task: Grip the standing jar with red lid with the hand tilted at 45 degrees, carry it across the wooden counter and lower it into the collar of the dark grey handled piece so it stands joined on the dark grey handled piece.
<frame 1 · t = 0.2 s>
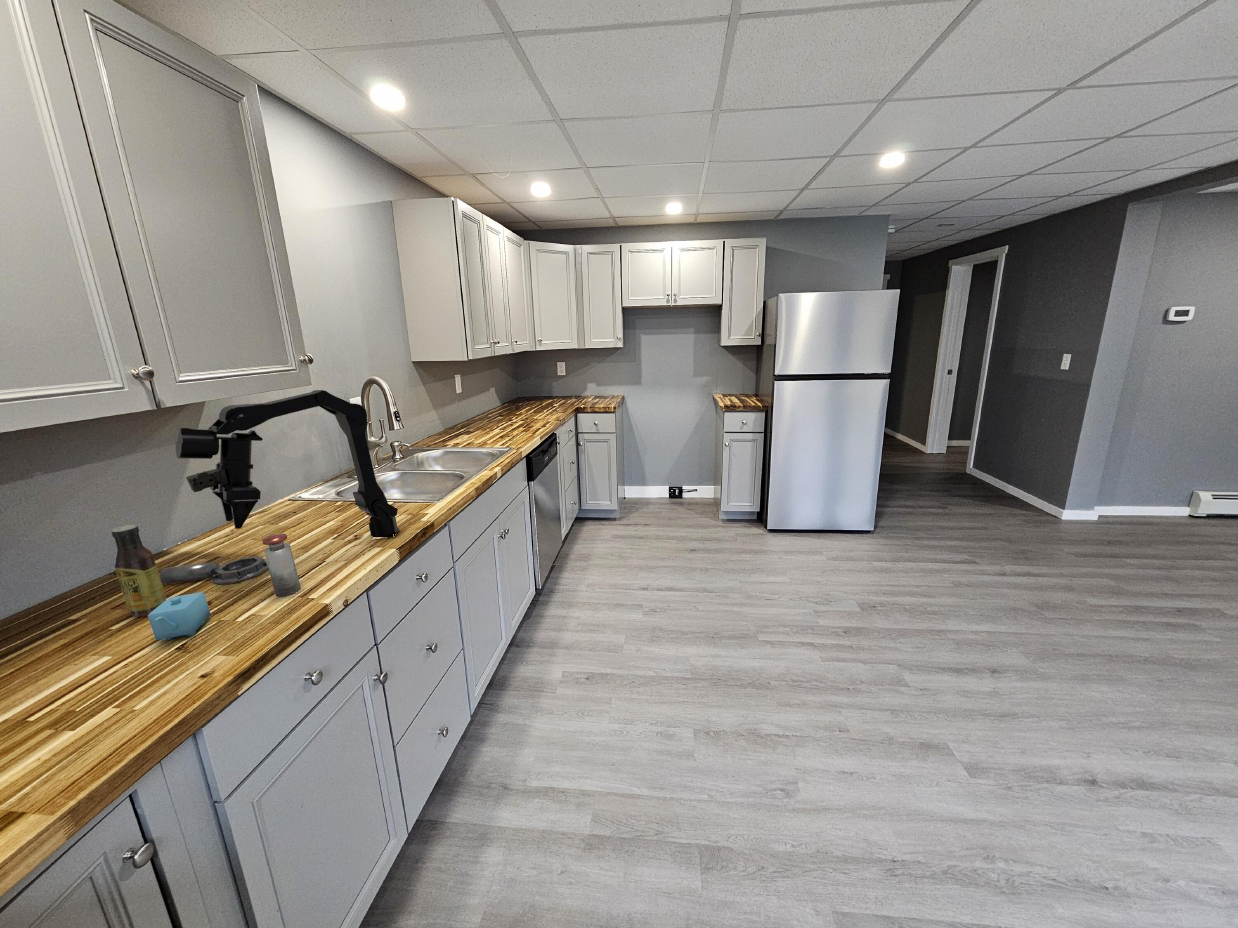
hand: (233, 524, 114), 15 cm above the counter, tool pointing down, fingers open, 9 cm apart
dark grey handled piece: (242, 573, 124), on the counter
sauce bottle: (150, 611, 108), on the counter
teapot: (183, 634, 98), on the counter
jar with red lid: (288, 591, 113), on the counter
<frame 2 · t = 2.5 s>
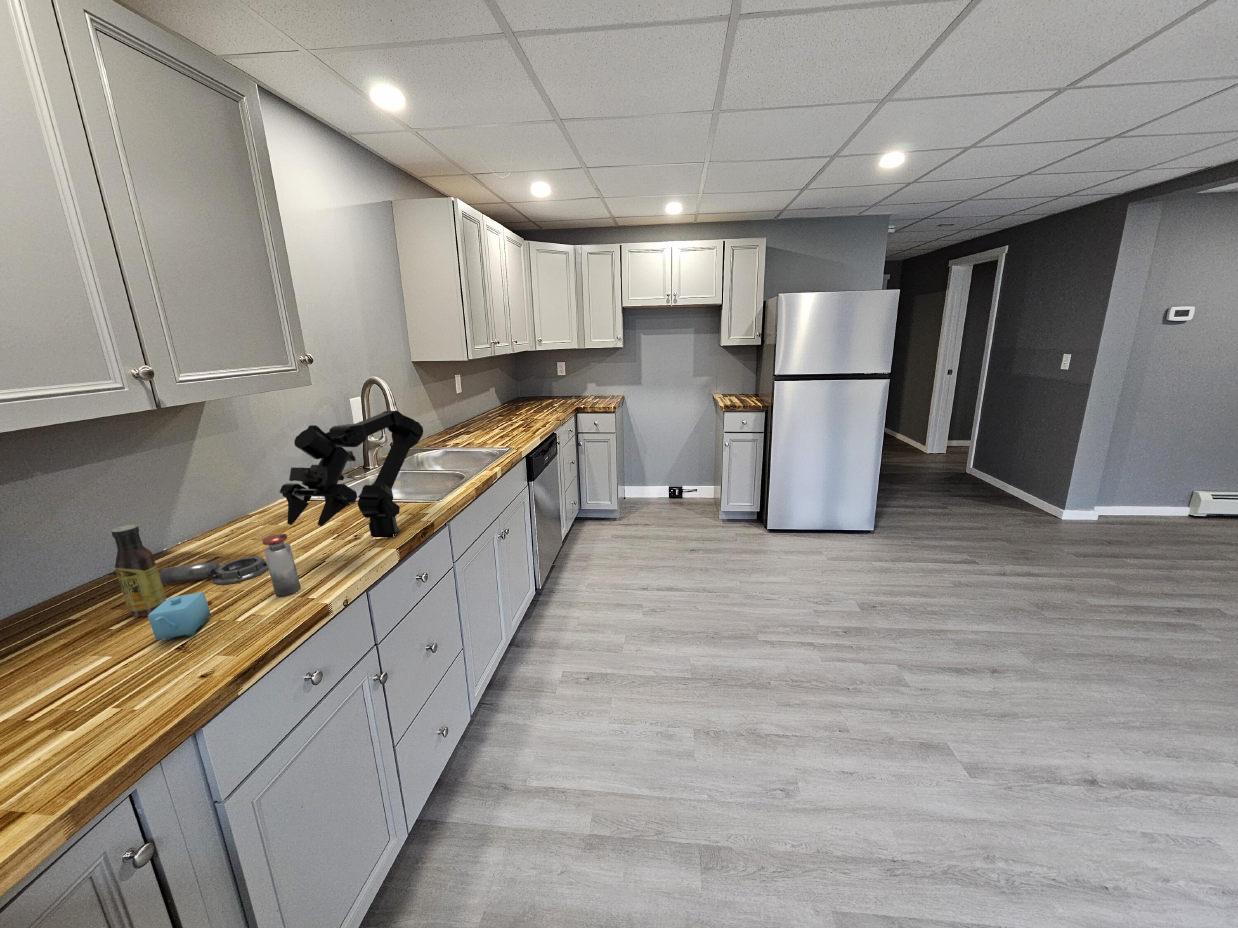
hand: (304, 524, 117), 13 cm above the counter, tool tilted 45°, fingers open, 9 cm apart
nothing on the counter moved.
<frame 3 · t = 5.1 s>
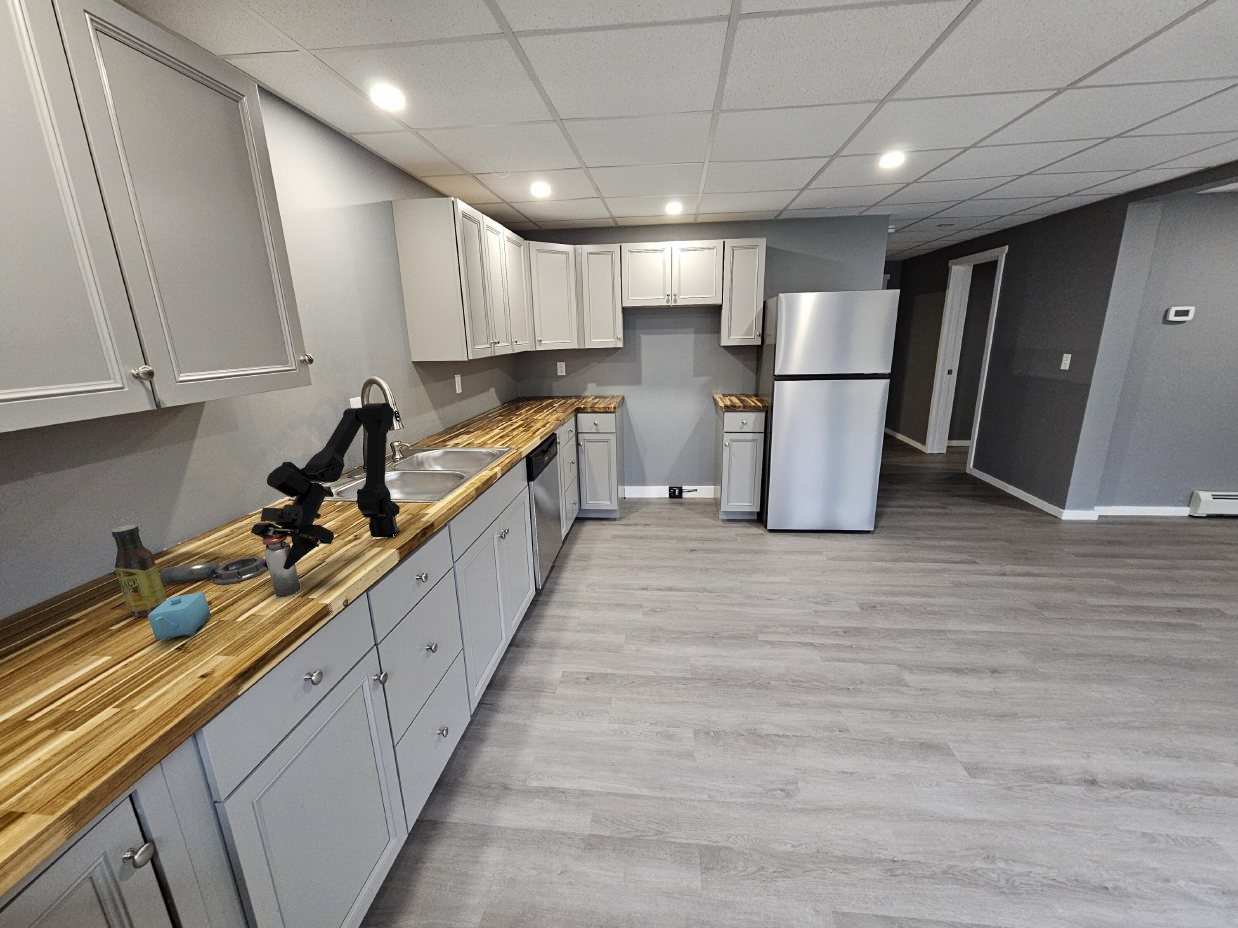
hand: (276, 568, 110), 7 cm above the counter, tool tilted 45°, fingers closed on jar with red lid, 5 cm apart
jar with red lid: (288, 591, 113), on the counter, touching gripper
everything else where it was.
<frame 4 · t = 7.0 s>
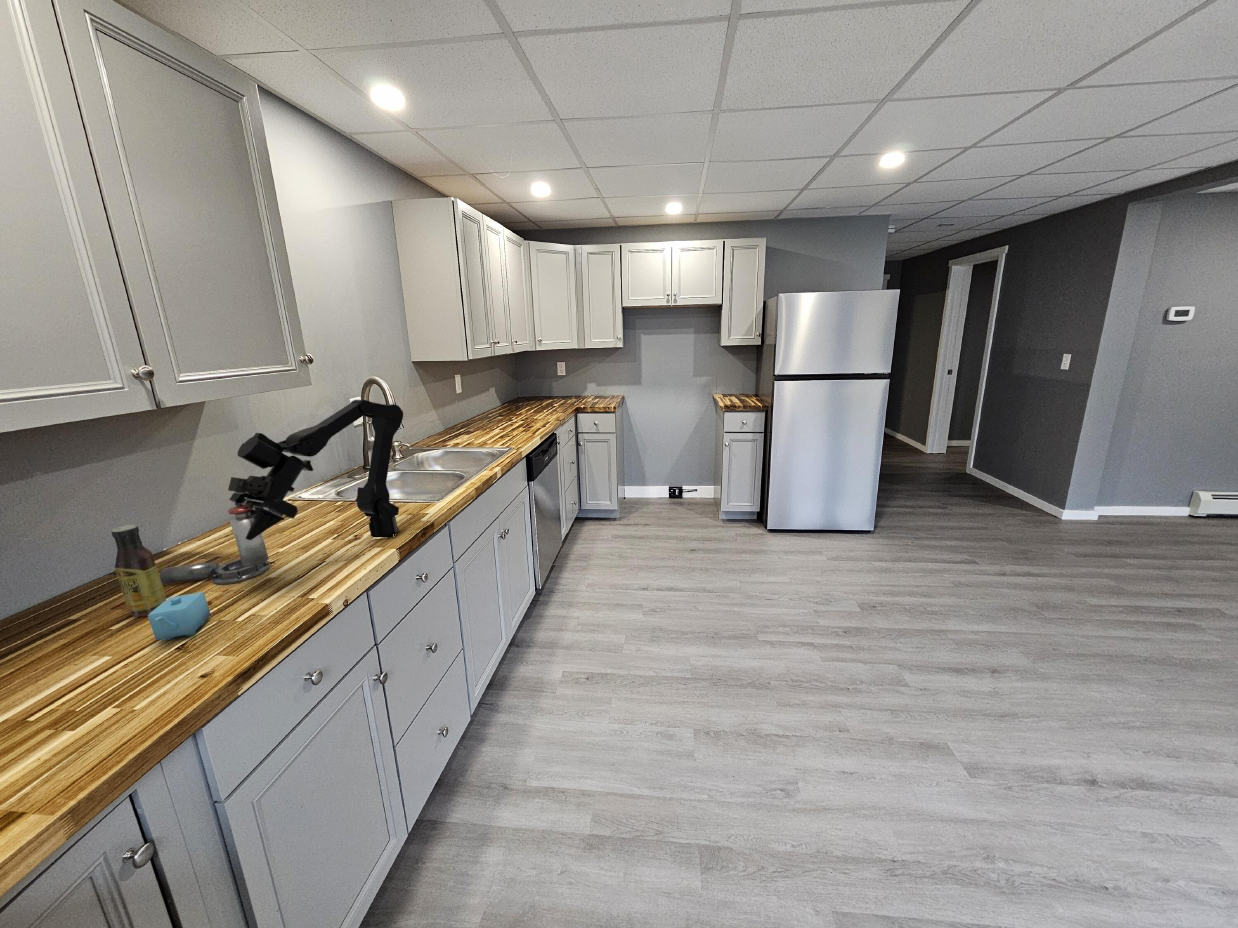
hand: (241, 537, 111), 13 cm above the counter, tool tilted 45°, fingers closed on jar with red lid, 5 cm apart
jar with red lid: (255, 561, 114), point 7 cm above the counter, touching gripper
everything else where it was.
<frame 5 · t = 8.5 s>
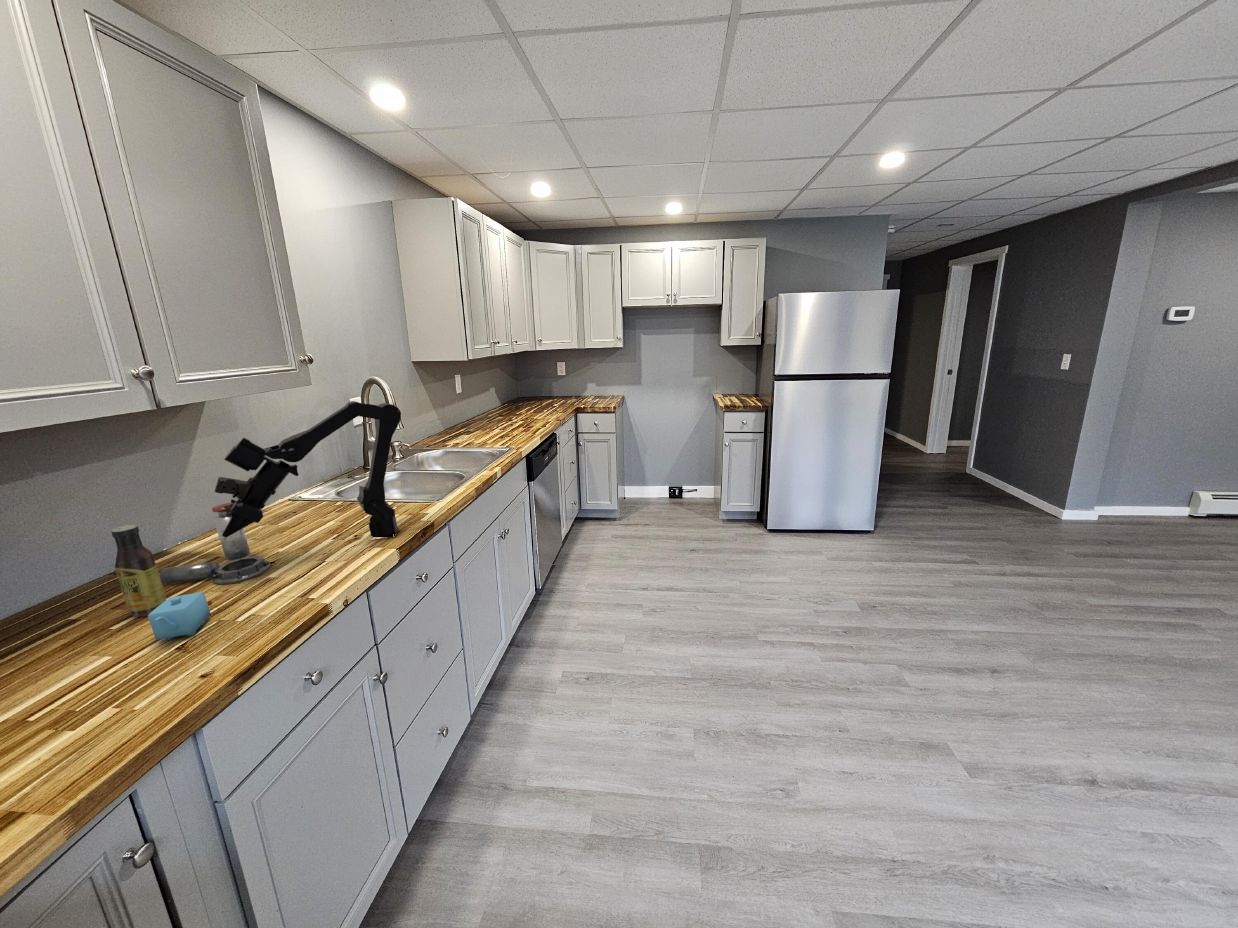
hand: (224, 533, 121), 11 cm above the counter, tool tilted 45°, fingers closed on jar with red lid, 5 cm apart
jar with red lid: (238, 555, 123), point 5 cm above the counter, touching gripper
everything else where it was.
when the fingers open (9 cm above the counter, at t = 9.3 s): jar with red lid drops 1 cm, resting on dark grey handled piece.
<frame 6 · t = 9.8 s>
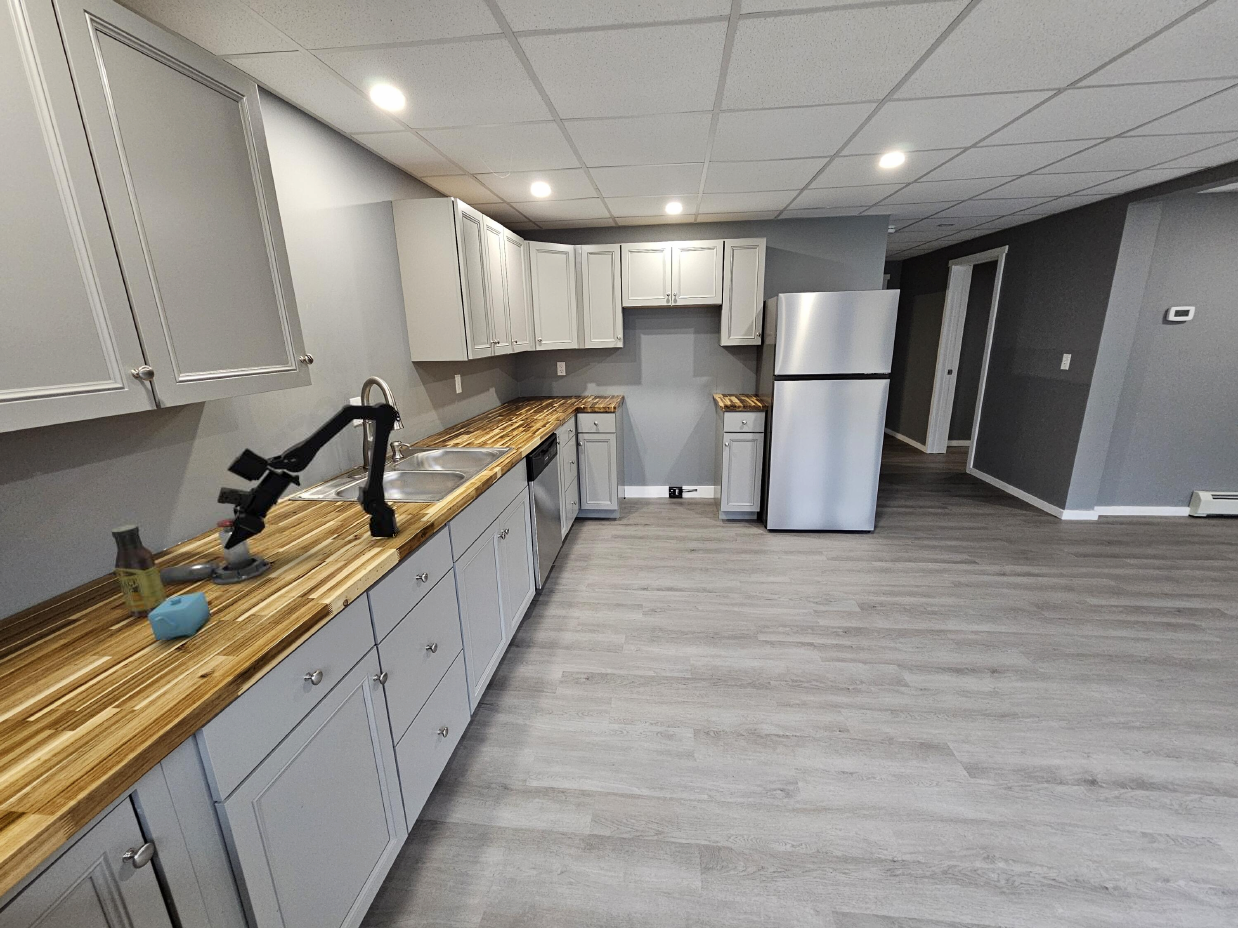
hand: (226, 543, 121), 9 cm above the counter, tool tilted 45°, fingers open, 9 cm apart
jar with red lid: (242, 570, 124), point 1 cm above the counter, touching dark grey handled piece
everything else where it was.
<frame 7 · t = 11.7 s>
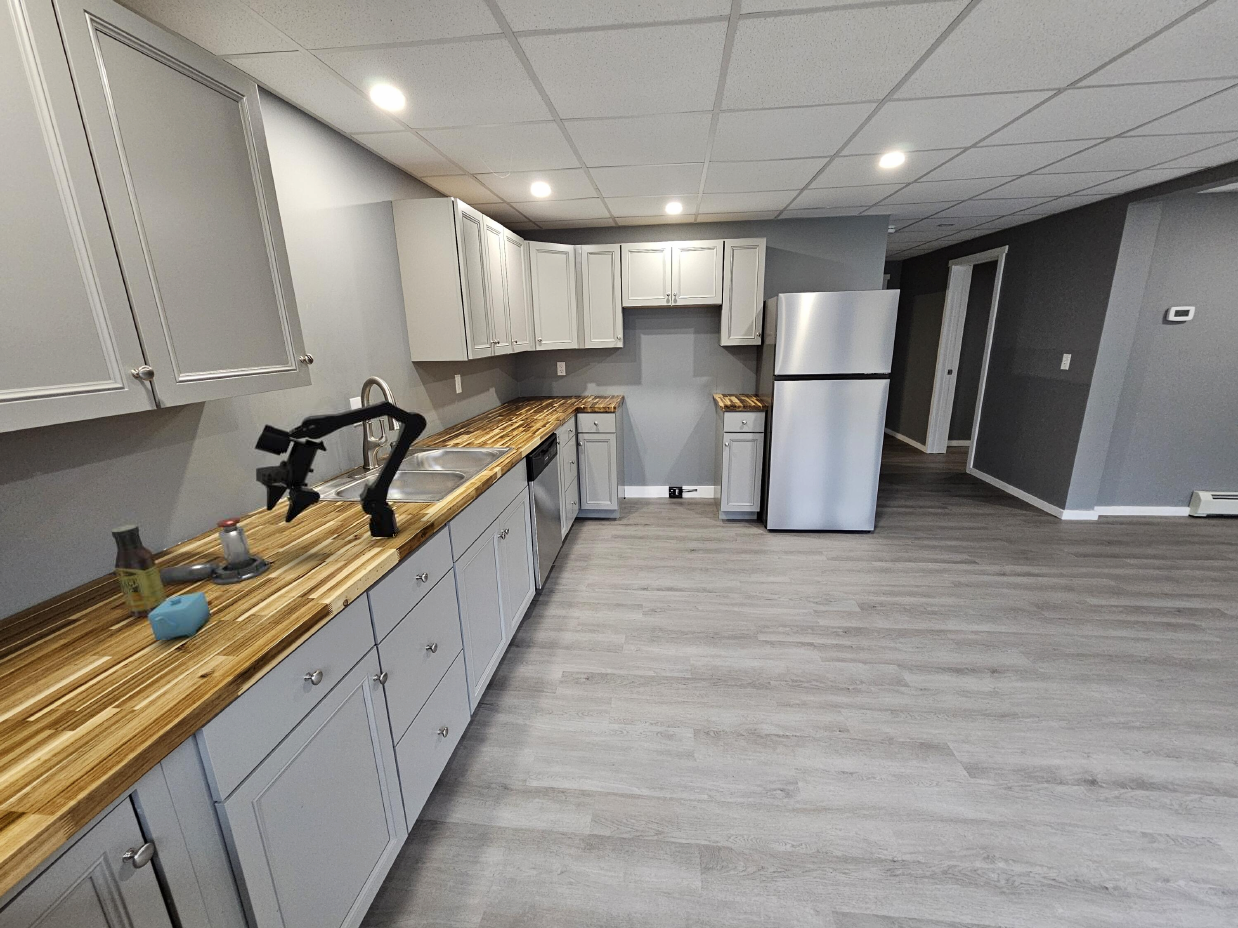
hand: (277, 516, 128), 12 cm above the counter, tool tilted 30°, fingers open, 9 cm apart
nothing on the counter moved.
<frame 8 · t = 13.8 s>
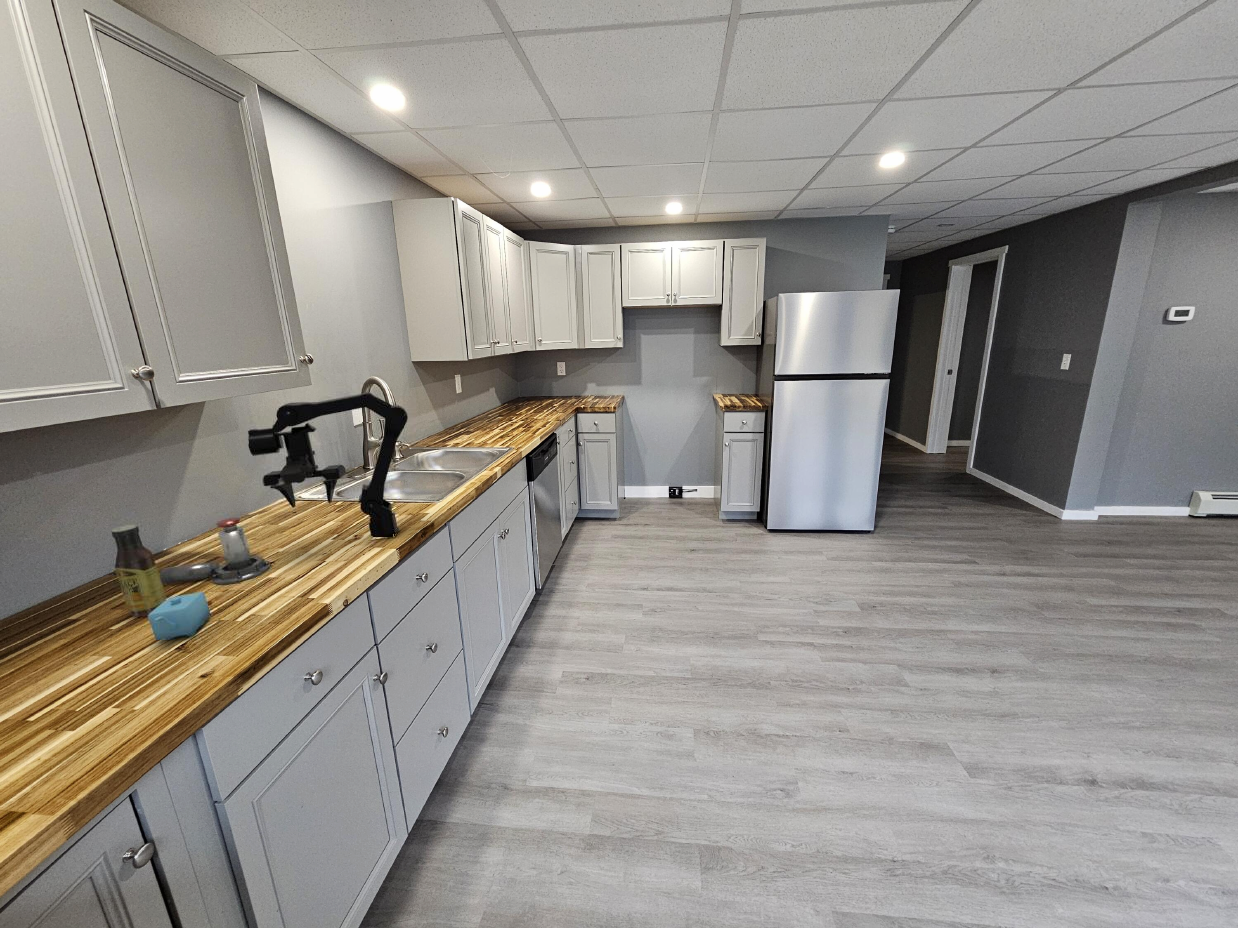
hand: (312, 504, 134), 13 cm above the counter, tool pointing down, fingers open, 9 cm apart
nothing on the counter moved.
at the end: jar with red lid 0.1 cm off-centre on the dark grey handled piece, point 0.8 cm above the dark grey handled piece's base; jar with red lid tilted 0°; the gripper is holding nothing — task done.
